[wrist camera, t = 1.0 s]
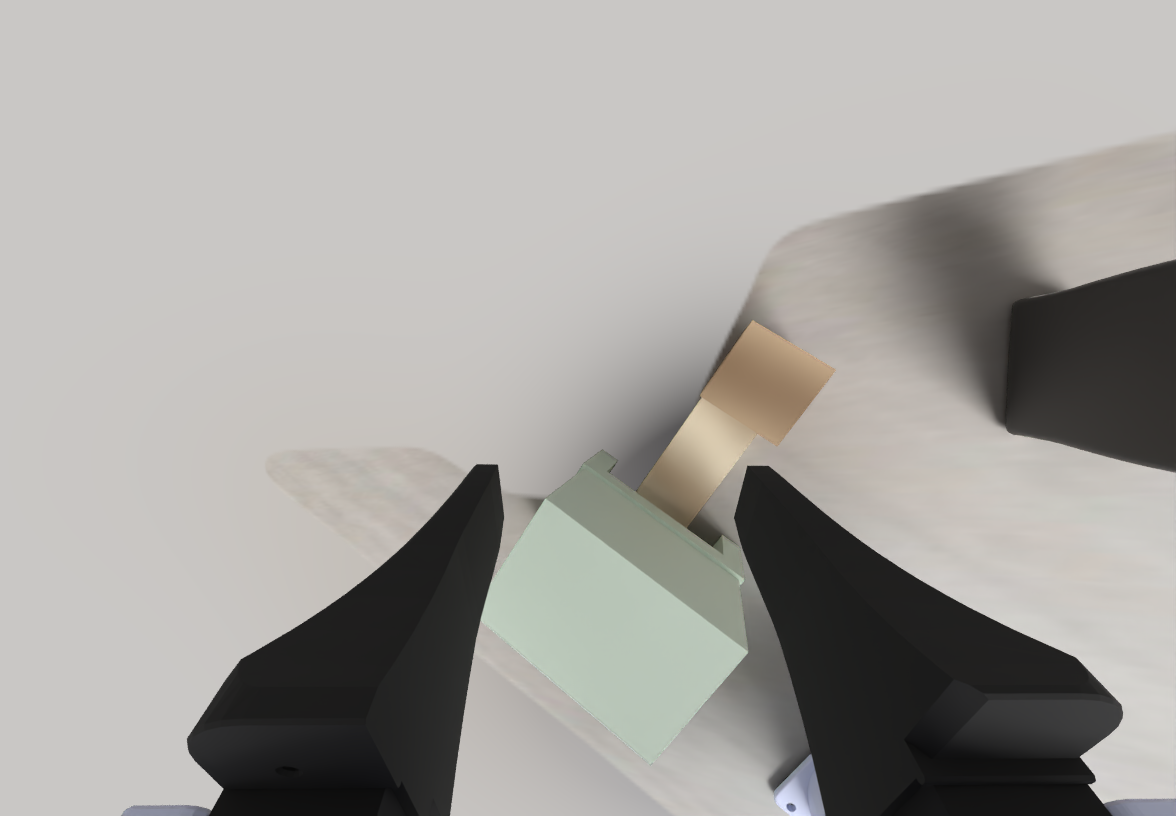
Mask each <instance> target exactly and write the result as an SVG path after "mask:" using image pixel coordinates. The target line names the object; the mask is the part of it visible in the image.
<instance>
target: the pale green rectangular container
mask: <svg viewBox="0 0 1176 816" xmlns="http://www.w3.org/2000/svg"><path fill="white" fill-rule="evenodd" d="M616 463H617V460H616V459H615V458H613V457H612V456H611V455H609V454H608V453H606V452H605V451H604V450H601V451H600V452H598V453H597V454H596V455H594V456H593V457H592V458H590V459H589V460H587V461H586V462H584V464H583V465H582V466H581V468H580V470H579V471H578V473H577V474H576V475H575V476H574V477H573V478H571V479H570V480H569V481H567V482H566V483H565V484H563V485H562V486H561V487H560V488H558V489H557V490H556V491H554V492H553V493H552V494H550V495H549V496H548V497H547V498H545V500H544V501H543V503H542V505H541V506H540V508H539V509H538V511H537V512H536V514H535V515H534V517H533V519H532V520H531V522H530V523H529V525H528V526H527V528H526V529H525V531H524V532H523V534H522V536H521V537H520V539H519V540H518V542H517V543H516V545H515V546H514V548H513V550H512V551H511V553H510V554H509V556H508V557H507V559H506V560H505V562H504V564H503V565H502V567H501V568H500V570H499V571H498V573H497V574H496V576H495V578H494V579H493V581H492V582H491V584H490V587H489V590H488V594H487V598H486V601H485V605H484V609H483V612H482V616H481V620H480V621H481V622H483V623H484V624H485V625H486V626H487V627H488V628H490V629H491V630H492V631H493V632H494V633H495V634H497V635H498V636H499V637H500V638H501V639H502V640H504V641H505V642H506V643H507V644H508V645H510V646H511V647H512V648H513V649H514V650H515V651H517V652H518V653H519V654H520V655H521V656H522V657H524V658H525V659H526V660H527V661H528V662H529V663H531V664H532V665H533V666H534V667H535V668H537V669H538V670H539V671H540V672H541V673H542V674H544V675H545V676H546V677H547V678H548V679H549V680H551V681H552V682H553V683H554V684H555V685H556V686H558V687H559V688H560V689H561V690H562V691H563V692H565V693H566V694H567V695H568V696H569V697H571V698H572V699H573V700H574V701H575V702H576V703H578V704H579V705H580V706H581V707H582V708H583V709H585V710H586V711H587V712H588V713H589V714H590V715H592V716H593V717H594V718H595V719H596V720H598V721H599V722H600V723H601V724H602V725H603V726H605V727H606V728H607V729H608V730H609V731H610V732H612V733H613V734H614V735H615V736H616V737H617V738H619V739H620V740H621V741H622V742H623V743H624V744H626V745H627V746H628V747H629V748H630V749H632V750H633V751H634V752H635V753H636V754H637V755H639V756H640V757H641V758H642V759H643V760H644V761H646V762H647V763H648V764H649V765H650V766H651V765H652V764H653V762H654V761H655V760H656V759H657V758H658V757H659V755H660V754H661V753H662V752H663V751H664V750H665V748H666V747H667V746H668V745H669V744H670V743H671V742H672V740H673V739H674V738H675V737H676V736H677V735H678V733H679V732H680V731H681V730H682V729H683V728H684V726H685V725H686V724H687V723H688V722H689V721H690V720H691V718H692V717H693V716H694V715H695V714H696V713H697V711H698V710H699V709H700V708H701V707H702V706H703V704H704V703H705V702H706V701H707V700H708V699H709V697H710V696H711V695H712V694H713V693H714V692H715V691H716V689H717V688H718V687H719V686H720V685H721V684H722V682H723V681H724V680H725V679H726V678H727V677H728V675H729V674H730V673H731V672H732V671H733V670H734V668H735V667H736V666H737V665H738V664H739V663H740V662H741V660H742V659H743V658H744V657H745V656H746V655H747V653H748V644H747V636H746V629H745V621H744V614H743V606H742V598H741V591H740V585H741V584H742V583H743V582H744V580H745V577H744V571H743V564H742V558H741V552H740V547H739V546H737V545H736V544H735V543H733V542H732V541H730V540H729V539H728V538H726V537H725V536H723V535H722V536H721V537H720V538H719V540H718V541H717V542H716V543H715V545H714V546H713V547H712V546H710V545H709V544H707V543H706V542H705V541H703V540H702V539H700V538H699V537H698V536H696V535H695V534H694V533H692V532H691V531H689V530H688V529H687V528H685V527H684V526H682V525H681V524H680V523H678V522H677V521H675V520H674V519H673V518H671V517H670V516H669V515H667V514H666V513H664V512H663V511H662V510H660V509H659V508H657V507H656V506H655V505H653V504H652V503H650V502H649V501H648V500H646V499H645V498H644V497H642V496H641V495H639V494H638V493H637V492H635V491H634V490H632V489H631V488H630V487H628V486H627V485H625V484H624V483H623V482H621V481H620V480H618V479H617V478H616V477H614V476H613V475H612V474H610V472H611V470H612V468H613V467H614V466H615V464H616Z"/></svg>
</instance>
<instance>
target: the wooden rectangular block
mask: <svg viewBox="0 0 1176 816" xmlns="http://www.w3.org/2000/svg"><path fill="white" fill-rule="evenodd" d="M835 371H836V370H835V369H834V368H832V367H830V366H829V365H827V364H825V363H824V362H822V361H820V360H819V359H817V358H815V357H814V356H812V355H810V354H809V353H807V352H805V351H804V350H802V349H800V348H798V347H797V346H795V345H793V344H792V343H790V342H788V341H787V340H785V339H783V338H782V337H780V336H778V335H777V334H775V333H773V332H772V331H770V330H768V329H767V328H765V327H763V326H762V325H760V324H758V323H757V322H755V321H753V320H752V322H751V323H750V324H749V325H748V326H747V328H746V329H745V330H744V331H743V333H742V334H741V336H740V337H739V339H738V340H737V341H736V343H735V344H734V346H733V347H732V349H731V350H730V351H729V353H728V354H727V356H726V357H725V359H724V360H723V361H722V363H721V364H720V366H719V367H718V369H717V370H716V372H715V373H714V374H713V376H712V377H711V379H710V380H709V382H708V383H707V384H706V386H705V387H704V389H703V390H702V392H701V394H700V397H702V398H701V399H700V400H699V402H698V403H697V405H696V406H695V408H694V409H693V410H692V412H691V413H690V415H689V416H688V418H687V419H686V420H685V422H684V423H683V425H682V426H681V428H680V429H679V431H678V432H677V434H676V435H675V436H674V438H673V439H672V441H671V442H670V443H669V445H668V446H667V448H666V449H665V451H664V452H663V454H662V455H661V456H660V458H659V459H658V461H657V462H656V464H655V465H654V466H653V468H652V469H651V471H650V472H649V473H648V475H647V476H646V478H645V479H644V481H643V482H642V483H641V485H640V486H639V488H638V489H637V491H636V492H637V493H638V494H639V495H641V496H642V497H644V498H645V499H646V500H648V501H649V502H650V503H652V504H653V505H655V506H656V507H657V508H659V509H660V510H662V511H663V512H664V513H666V514H667V515H669V516H670V517H671V518H673V519H674V520H675V521H677V522H678V523H680V524H681V525H682V526H684V527H685V528H687V527H688V526H689V524H690V523H691V522H692V520H693V519H694V518H695V516H696V515H697V514H698V512H699V511H700V510H701V508H702V507H703V506H704V504H705V503H706V502H707V500H708V499H709V498H710V496H711V495H712V494H713V492H714V491H715V490H716V488H717V487H718V486H719V484H720V483H721V482H722V480H723V479H724V478H725V476H726V475H727V474H728V472H729V471H730V470H731V468H732V467H733V466H734V464H735V463H736V462H737V460H738V459H739V458H740V456H741V455H742V454H743V452H744V451H745V450H746V448H747V447H748V446H749V444H750V443H751V442H752V440H753V439H754V438H755V436H756V435H757V434H759V435H760V436H762V437H763V438H765V439H767V440H768V441H770V442H771V443H773V444H774V445H776V446H778V445H779V444H780V442H781V441H782V440H783V438H784V437H785V436H786V434H787V433H788V432H789V431H790V429H791V428H792V427H793V425H794V424H795V423H796V421H797V420H798V419H799V418H800V416H801V415H802V414H803V412H804V411H805V410H806V408H807V407H808V406H809V404H810V403H811V402H812V401H813V399H814V398H815V397H816V395H817V394H818V393H819V391H820V390H821V389H822V388H823V386H824V385H825V384H826V382H827V381H828V380H829V378H830V377H831V376H832V375H833V373H834V372H835Z"/></svg>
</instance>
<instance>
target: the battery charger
mask: <svg viewBox="0 0 1176 816" xmlns="http://www.w3.org/2000/svg"><path fill="white" fill-rule="evenodd" d="M1006 429H1007V431H1008V432H1009V433H1011V434H1013V435H1021V436H1024V437H1029V438H1035V439H1041V440H1047V441H1052V442H1056V443H1060V444H1064V445H1067V446H1070V447H1074V448H1077V449H1080V450H1084V451H1088V452H1091V453H1095V454H1099V455H1102V456H1106V457H1110V458H1114V459H1118V460H1121V461H1125V462H1130V463H1134V464H1138V465H1142V466H1147V467H1151V468H1156V469H1161V470H1165V471H1170V472H1175V473H1176V259H1175V260H1171V261H1167V262H1164V263H1160V264H1156V265H1152V266H1148V267H1144V268H1140V269H1136V270H1133V271H1129V272H1126V273H1122V274H1119V275H1115V276H1112V277H1108V278H1105V279H1101V280H1098V281H1094V282H1091V283H1088V284H1084V285H1081V286H1078V287H1075V288H1072V289H1068V290H1063V291H1059V292H1055V293H1050V294H1044V295H1039V296H1033V297H1030V298H1027V299H1021V300H1019V301H1017V302H1015V303H1014V305H1013V308H1012V319H1011V333H1010V349H1009V365H1008V387H1007V414H1006Z"/></svg>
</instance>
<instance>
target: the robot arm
mask: <svg viewBox="0 0 1176 816" xmlns="http://www.w3.org/2000/svg"><path fill="white" fill-rule="evenodd" d="M734 519H735V523H736V527H737V531H738V535H739V538H740V542H741V545H742V549H743V552H744V554H745V557H746V559H747V562H748V564H749V566H750V569H751V571H752V574H753V576H754V579H755V581H756V583H757V586H758V588H759V591H760V593H761V595H762V598H763V600H764V602H765V605H766V607H767V610H768V612H769V614H770V617H771V619H772V622H773V624H774V627H775V630H776V632H777V635H778V638H779V641H780V644H781V647H782V650H783V654H784V657H785V660H786V663H787V667H788V670H789V673H790V677H791V680H792V684H793V687H794V691H795V694H796V698H797V701H798V705H799V708H800V712H801V716H802V720H803V724H804V727H805V731H806V735H807V739H808V743H809V747H810V751H811V754H810V755H809V756H808V757H807V758H806V759H805V760H804V761H803V762H802V763H801V764H800V765H799V766H798V767H797V768H796V769H795V770H794V771H793V772H792V773H791V774H790V775H789V776H788V777H787V778H786V779H785V780H784V781H783V782H782V783H781V784H780V785H779V787H778V788H777V789H776V790H775V791H774V800H775V802H776V804H777V805H778V806H779V807H780V808H782V809H783V810H784V811H785V812H786V813H788V814H789V815H790V816H1176V799H1124V800H1116V801H1112V802H1108V803H1105V804H1103V803H1102V802H1101V801H1100V799H1099V798H1098V797H1097V796H1096V794H1095V793H1094V792H1093V791H1092V789H1091V788H1090V787H1089V785H1088V784H1092V783H1094V782H1095V781H1096V779H1095V775H1094V774H1093V773H1092V772H1091V770H1090V769H1089V768H1088V767H1087V765H1086V764H1085V763H1084V762H1083V761H1082V759H1081V758H1080V756H1081V755H1083V754H1084V753H1085V752H1087V751H1088V750H1089V749H1091V748H1092V747H1093V746H1095V745H1096V744H1097V743H1099V742H1100V741H1101V740H1103V739H1104V738H1105V737H1107V736H1108V735H1109V734H1111V733H1112V732H1113V731H1114V730H1115V729H1116V728H1117V727H1118V726H1119V724H1120V722H1121V720H1122V718H1123V711H1122V706H1121V704H1120V703H1119V702H1118V701H1117V700H1116V699H1115V698H1114V697H1113V696H1112V695H1111V694H1110V693H1109V692H1108V691H1107V689H1106V688H1105V687H1104V686H1103V685H1102V684H1101V683H1100V682H1099V681H1098V680H1097V679H1096V678H1095V677H1094V676H1093V675H1092V674H1091V673H1090V672H1089V671H1088V670H1087V669H1086V668H1085V667H1084V665H1083V664H1082V663H1081V662H1080V661H1079V660H1078V659H1077V658H1075V657H1073V656H1071V655H1069V654H1067V653H1064V652H1062V651H1060V650H1058V649H1055V648H1053V647H1051V646H1049V645H1046V644H1044V643H1042V642H1040V641H1038V640H1035V639H1033V638H1031V637H1029V636H1026V635H1024V634H1022V633H1020V632H1017V631H1015V630H1013V629H1011V628H1009V627H1007V626H1005V625H1003V624H1001V623H999V622H997V621H995V620H993V619H991V618H989V617H987V616H985V615H983V614H981V613H979V612H977V611H975V610H973V609H971V608H969V607H967V606H965V605H963V604H962V603H960V602H958V601H956V600H954V599H952V598H950V597H949V596H947V595H945V594H943V593H942V592H940V591H938V590H936V589H935V588H933V587H931V586H929V585H928V584H926V583H924V582H923V581H921V580H919V579H917V578H916V577H914V576H913V575H911V574H909V573H908V572H906V571H904V570H903V569H901V568H900V567H898V566H897V565H895V564H894V563H892V562H891V561H889V560H888V559H886V558H884V557H883V556H881V555H880V554H878V553H877V552H875V551H874V550H873V549H871V548H870V547H868V546H867V545H865V544H864V543H863V542H861V541H860V540H859V539H857V538H856V537H855V536H853V535H852V534H851V533H849V532H848V531H847V530H845V529H844V528H843V527H841V526H840V525H839V524H838V523H836V522H835V521H834V520H832V519H831V518H830V517H829V516H828V515H826V514H825V513H824V512H823V511H821V510H820V509H819V508H818V507H817V506H815V505H814V504H813V503H812V502H811V501H809V500H808V499H807V498H806V497H805V496H804V495H802V494H801V493H800V492H799V491H798V490H797V489H795V488H794V487H793V486H792V485H791V484H790V483H788V482H787V481H786V480H785V479H784V478H783V477H781V476H780V475H779V474H778V473H777V472H775V471H774V470H773V469H772V468H771V467H769V466H747V470H746V474H745V478H744V481H743V485H742V489H741V493H740V497H739V501H738V505H737V509H736V513H735V516H734ZM503 521H504V512H503V503H502V495H501V486H500V478H499V470H498V465H483V464H477V465H476V466H474V467H473V469H472V470H471V471H470V472H469V474H468V475H467V476H466V477H465V479H464V480H463V481H462V483H461V484H460V485H459V486H458V487H457V489H456V490H455V491H454V492H453V494H452V495H451V496H450V497H449V498H448V499H447V501H446V502H445V503H444V504H443V505H442V506H441V507H440V509H439V510H438V511H437V512H436V513H435V514H434V515H433V517H432V518H431V519H430V520H429V521H428V522H427V523H426V524H425V525H424V526H423V527H422V528H421V529H420V530H419V531H418V532H417V533H416V534H415V535H414V536H413V537H412V538H411V539H410V540H409V541H408V542H407V543H406V544H405V545H404V546H403V547H402V548H401V549H400V550H399V551H398V552H397V553H395V554H394V555H393V556H392V557H391V558H390V559H389V560H387V561H386V562H385V563H384V564H383V565H382V566H381V567H379V568H378V569H377V570H376V571H374V572H373V573H372V574H371V575H370V576H368V577H367V578H366V579H364V580H363V581H362V582H361V583H359V584H358V585H357V586H355V587H354V588H353V589H351V590H350V591H349V592H348V593H346V594H345V595H344V596H342V597H341V598H339V599H338V600H336V601H335V602H334V603H332V604H331V605H329V606H328V607H327V608H325V609H324V610H322V611H320V612H319V613H317V614H316V615H314V616H313V617H311V618H310V619H308V620H307V621H305V622H304V623H302V624H300V625H299V626H297V627H296V628H294V629H293V630H291V631H289V632H287V633H286V634H284V635H282V636H281V637H279V638H277V639H275V640H274V641H272V642H270V643H269V644H267V645H265V646H264V647H262V648H260V649H259V650H257V651H255V652H253V653H252V654H250V655H248V656H246V657H244V658H243V659H241V660H240V661H239V663H238V664H237V666H236V667H235V668H234V669H233V671H232V672H231V674H230V675H229V676H228V678H227V679H226V680H225V682H224V683H223V685H222V686H221V688H220V689H219V691H218V692H217V694H216V695H215V697H214V698H213V700H212V702H211V703H210V705H209V706H208V708H207V710H206V711H205V712H204V714H203V715H202V717H201V718H200V720H199V722H198V723H197V725H196V726H195V727H194V729H193V730H192V732H191V734H190V735H189V736H188V738H187V743H188V750H189V753H190V755H191V756H192V757H193V759H194V760H195V761H196V762H197V763H198V764H199V765H200V766H201V767H202V768H203V769H204V770H205V771H206V772H207V773H208V774H209V775H210V776H211V777H212V778H213V779H214V780H215V781H216V782H217V783H218V784H219V785H220V786H221V787H222V788H223V791H222V793H221V795H220V797H219V798H218V800H217V802H216V804H215V806H214V808H213V809H212V811H211V810H209V809H207V808H202V807H199V806H189V805H175V806H174V805H172V806H171V805H169V806H168V805H167V806H166V805H163V806H162V805H161V806H132V807H130V808H128V809H126V810H125V811H124V812H123V814H122V815H121V816H450V810H451V803H452V795H453V787H454V780H455V772H456V764H457V757H458V750H459V743H460V736H461V729H462V722H463V715H464V709H465V703H466V696H467V690H468V684H469V677H470V671H471V665H472V660H473V654H474V648H475V642H476V637H477V633H478V628H479V624H480V620H481V616H482V612H483V609H484V605H485V601H486V598H487V594H488V590H489V587H490V583H491V579H492V576H493V572H494V568H495V564H496V560H497V557H498V553H499V549H500V542H501V536H502V528H503ZM789 803H792V804H794V805H788V804H789Z"/></svg>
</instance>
